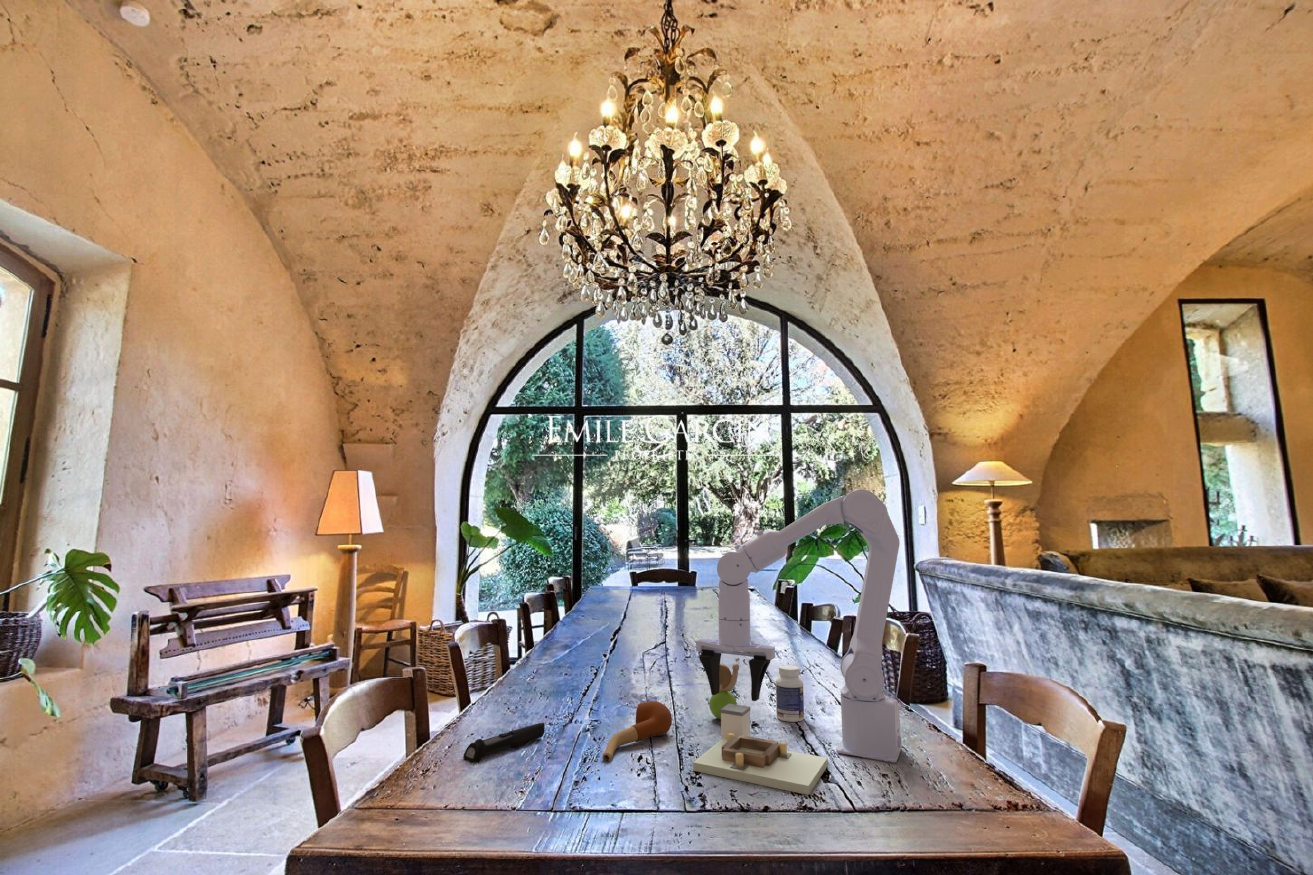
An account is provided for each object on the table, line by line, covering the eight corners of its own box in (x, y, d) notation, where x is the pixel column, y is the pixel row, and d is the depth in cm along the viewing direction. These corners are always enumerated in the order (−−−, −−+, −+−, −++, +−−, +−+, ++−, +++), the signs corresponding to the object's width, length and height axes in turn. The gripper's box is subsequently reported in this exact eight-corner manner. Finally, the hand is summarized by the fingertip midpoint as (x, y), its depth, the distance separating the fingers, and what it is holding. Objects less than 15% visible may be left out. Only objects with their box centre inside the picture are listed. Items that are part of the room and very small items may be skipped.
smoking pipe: (677, 733, 112) (677, 700, 113) (633, 768, 95) (634, 729, 96) (643, 727, 115) (643, 695, 116) (594, 761, 98) (595, 723, 99)
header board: (827, 766, 96) (827, 745, 96) (808, 795, 86) (807, 772, 86) (722, 746, 104) (722, 727, 105) (693, 770, 94) (693, 750, 94)
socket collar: (782, 752, 99) (782, 742, 99) (767, 769, 92) (766, 758, 92) (736, 743, 102) (736, 734, 102) (718, 759, 95) (718, 749, 96)
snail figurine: (732, 726, 115) (731, 660, 117) (704, 719, 119) (703, 656, 121) (746, 719, 119) (745, 656, 121) (718, 713, 123) (718, 652, 125)
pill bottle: (807, 723, 117) (805, 670, 119) (779, 722, 117) (777, 670, 119) (801, 714, 123) (799, 664, 124) (774, 714, 123) (773, 664, 124)
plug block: (750, 739, 108) (750, 706, 109) (742, 746, 105) (742, 712, 106) (729, 735, 110) (729, 703, 111) (720, 742, 107) (720, 709, 107)
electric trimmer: (549, 742, 108) (550, 723, 108) (474, 766, 96) (475, 745, 97) (536, 737, 110) (537, 719, 110) (461, 760, 99) (462, 739, 99)
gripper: (689, 618, 110) (689, 696, 108) (765, 625, 104) (767, 708, 102) (704, 613, 117) (704, 687, 115) (777, 619, 110) (779, 698, 108)
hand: (735, 696), depth 109 cm, fingers open, 7 cm apart
